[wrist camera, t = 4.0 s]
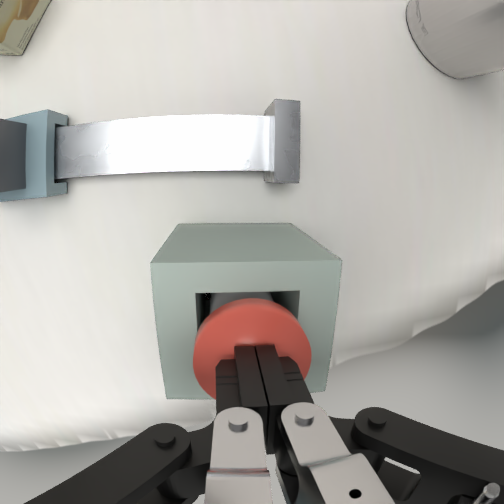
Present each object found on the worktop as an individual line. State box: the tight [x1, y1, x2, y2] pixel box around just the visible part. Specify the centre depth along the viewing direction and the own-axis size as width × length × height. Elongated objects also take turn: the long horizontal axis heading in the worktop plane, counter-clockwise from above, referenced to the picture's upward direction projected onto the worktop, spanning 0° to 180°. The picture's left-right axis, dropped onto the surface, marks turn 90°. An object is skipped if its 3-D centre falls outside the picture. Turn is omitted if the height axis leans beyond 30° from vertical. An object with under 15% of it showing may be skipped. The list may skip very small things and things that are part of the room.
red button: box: [193, 291, 312, 400], centre depth 17 cm, size 5×5×10 cm
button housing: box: [150, 223, 342, 399], centre depth 19 cm, size 8×7×10 cm
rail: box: [54, 99, 300, 183], centre depth 18 cm, size 25×5×4 cm, turn 89°
